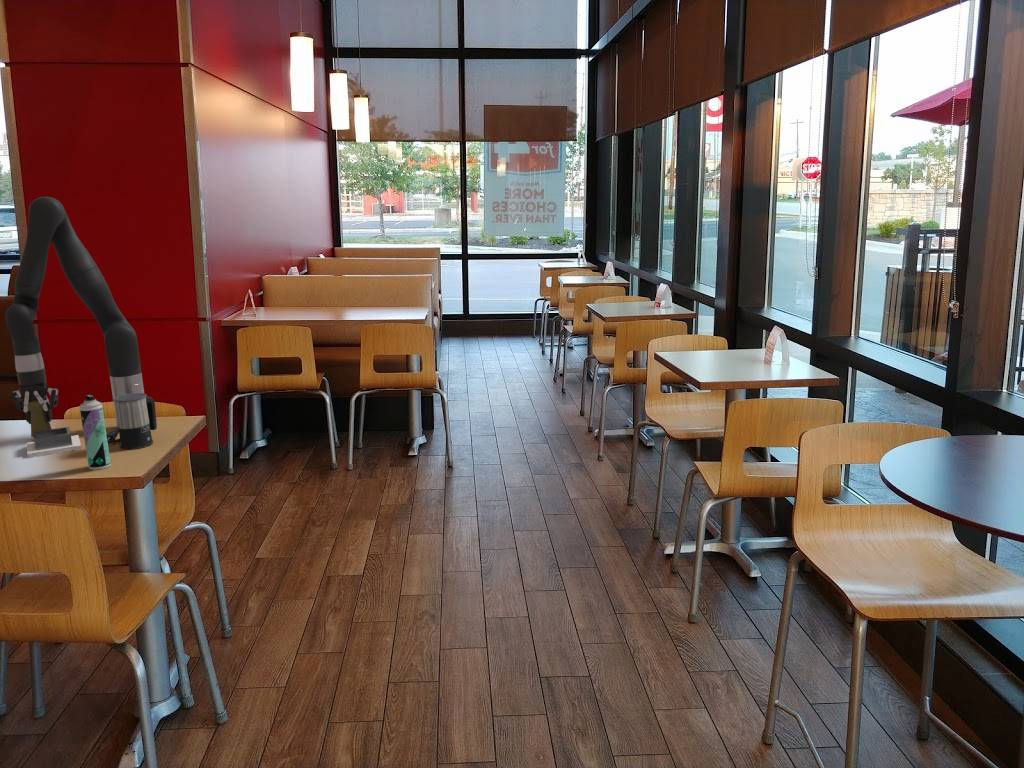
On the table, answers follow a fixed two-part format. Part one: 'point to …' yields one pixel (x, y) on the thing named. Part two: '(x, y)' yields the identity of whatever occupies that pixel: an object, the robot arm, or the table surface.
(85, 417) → the spray can
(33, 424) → the cork
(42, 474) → the table surface
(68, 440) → the socket collar
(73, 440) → the socket base
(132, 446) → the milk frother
